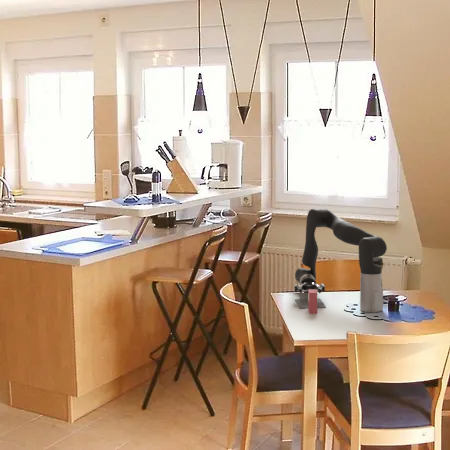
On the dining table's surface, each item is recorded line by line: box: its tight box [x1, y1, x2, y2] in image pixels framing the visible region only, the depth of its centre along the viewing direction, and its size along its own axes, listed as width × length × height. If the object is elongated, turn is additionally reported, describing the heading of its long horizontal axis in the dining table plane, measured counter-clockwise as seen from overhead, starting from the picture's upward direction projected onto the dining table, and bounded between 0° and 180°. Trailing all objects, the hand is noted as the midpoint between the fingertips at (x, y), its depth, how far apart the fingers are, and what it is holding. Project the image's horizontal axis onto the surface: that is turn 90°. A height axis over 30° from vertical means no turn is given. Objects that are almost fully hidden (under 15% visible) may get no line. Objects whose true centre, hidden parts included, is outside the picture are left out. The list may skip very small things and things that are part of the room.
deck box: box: [307, 289, 318, 315], centre depth 343 cm, size 6×4×10 cm, turn 178°
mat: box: [294, 298, 327, 309], centre depth 358 cm, size 16×12×1 cm
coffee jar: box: [373, 256, 384, 290], centre depth 374 cm, size 10×8×19 cm
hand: (310, 291), depth 354 cm, fingers open, 8 cm apart
